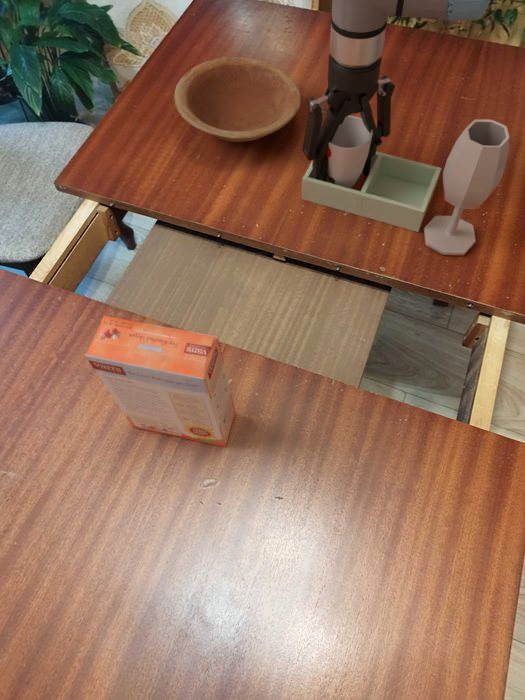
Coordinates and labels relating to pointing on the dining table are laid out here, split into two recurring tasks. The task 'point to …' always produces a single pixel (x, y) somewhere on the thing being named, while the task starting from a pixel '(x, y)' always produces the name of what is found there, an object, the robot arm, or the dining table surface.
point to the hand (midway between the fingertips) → (342, 177)
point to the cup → (348, 152)
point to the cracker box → (165, 379)
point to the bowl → (237, 98)
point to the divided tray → (380, 191)
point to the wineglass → (468, 183)
